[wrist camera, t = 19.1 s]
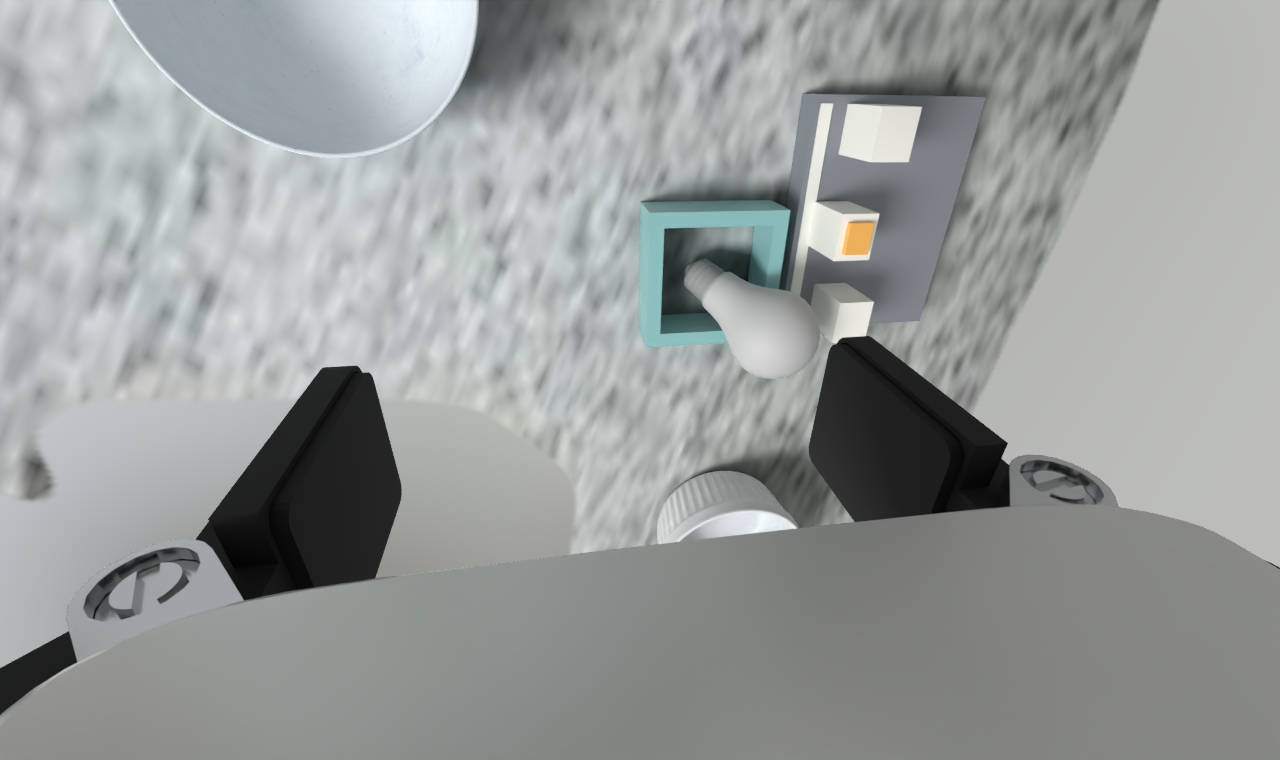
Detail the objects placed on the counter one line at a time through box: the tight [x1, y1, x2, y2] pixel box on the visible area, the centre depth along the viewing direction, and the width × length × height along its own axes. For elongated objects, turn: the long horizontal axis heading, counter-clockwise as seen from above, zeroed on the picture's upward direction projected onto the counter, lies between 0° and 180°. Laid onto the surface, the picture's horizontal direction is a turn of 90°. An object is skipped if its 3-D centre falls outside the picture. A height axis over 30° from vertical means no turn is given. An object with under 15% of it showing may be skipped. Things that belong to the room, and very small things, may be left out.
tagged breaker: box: [807, 201, 880, 261], centre depth 36 cm, size 3×2×4 cm
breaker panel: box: [779, 94, 986, 343], centre depth 37 cm, size 16×12×6 cm
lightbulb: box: [684, 259, 820, 379], centre depth 37 cm, size 6×6×11 cm
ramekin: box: [657, 471, 799, 544], centre depth 50 cm, size 13×13×7 cm
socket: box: [638, 200, 791, 347], centre depth 38 cm, size 10×10×4 cm
